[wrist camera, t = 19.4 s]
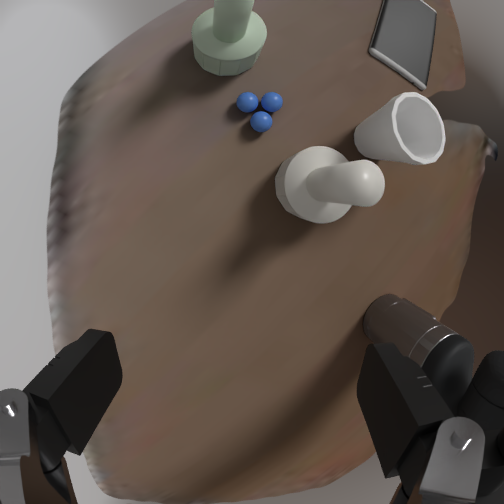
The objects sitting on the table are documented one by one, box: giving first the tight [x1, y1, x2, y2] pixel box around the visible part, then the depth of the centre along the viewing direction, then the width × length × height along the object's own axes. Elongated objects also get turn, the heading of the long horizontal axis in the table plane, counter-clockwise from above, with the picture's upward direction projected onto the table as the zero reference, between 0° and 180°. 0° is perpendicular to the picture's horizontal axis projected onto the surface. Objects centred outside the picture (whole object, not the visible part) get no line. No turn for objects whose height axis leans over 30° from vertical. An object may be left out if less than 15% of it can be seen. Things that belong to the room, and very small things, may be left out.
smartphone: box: [369, 0, 437, 90], centre depth 37 cm, size 13×27×2 cm, turn 158°
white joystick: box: [275, 146, 385, 223], centre depth 33 cm, size 10×10×17 cm
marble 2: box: [250, 111, 272, 132], centre depth 37 cm, size 3×3×3 cm
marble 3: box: [261, 92, 283, 112], centre depth 37 cm, size 3×3×3 cm
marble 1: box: [237, 92, 258, 112], centre depth 36 cm, size 3×3×3 cm
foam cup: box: [354, 92, 446, 165], centre depth 35 cm, size 10×9×13 cm
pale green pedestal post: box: [191, 0, 267, 76], centre depth 27 cm, size 10×10×17 cm
